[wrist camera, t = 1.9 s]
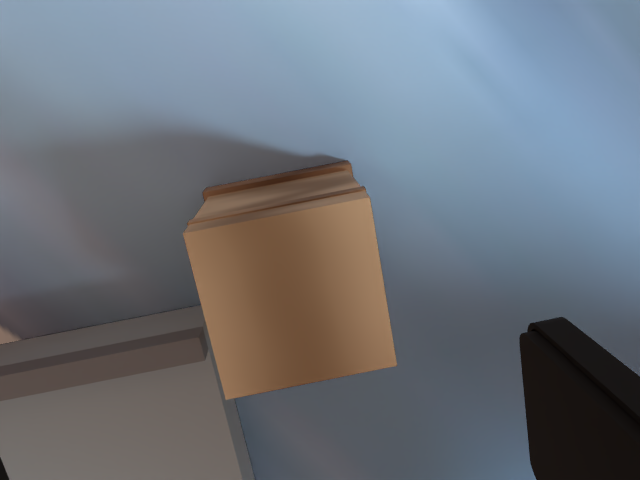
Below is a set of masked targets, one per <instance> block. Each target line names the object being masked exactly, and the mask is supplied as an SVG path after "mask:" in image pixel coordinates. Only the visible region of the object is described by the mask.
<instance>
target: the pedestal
mask: <svg viewBox="0 0 640 480" xmlns="http://www.w3.org/2000/svg"><path fill="white" fill-rule="evenodd" d="M203 197H204V201H205V202H204V204H203V205H202V207H201V208H200V210H199V211H198V212H197V214H196V215H195V217H194V218H193V219H191V220H189V221H188V223H187V225H188V227H187V228H186V230H185V231H184V233H183V236H184V240H185V244H186V248H187V252H188V255H189V259H190V263H191V267H192V271H193V275H194V279H195V283H196V286H197V290H198V294H199V298H200V302H201V306H202V310H203V314H204V317H205V321H206V325H207V329H208V333H209V337H210V341H211V345H212V349H213V352H214V356H215V360H216V364H217V368H218V372H219V376H220V380H221V383H222V387H223V391H224V395H225V399H226V400H228V399H233V398H238V397H243V396H248V395H253V394H258V393H263V392H268V391H273V390H278V389H283V388H288V387H293V386H298V385H303V384H308V383H313V382H318V381H323V380H329V379H334V378H339V377H344V376H349V375H354V374H359V373H364V372H369V371H374V370H379V369H384V368H389V367H394V366H397V362H396V355H395V349H394V343H393V337H392V331H391V325H390V318H389V312H388V306H387V300H386V294H385V287H384V281H383V275H382V269H381V263H380V257H379V250H378V244H377V238H376V232H375V226H374V220H373V213H372V207H371V201H370V197H369V196H368V194H367V193H366V189H365V187H364V186H362V187H361V186H360V185H359V184H358V182H357V181H356V180H355V179H354V178H353V173H352V167H351V163H350V162H349V161H343V162H337V163H332V164H327V165H322V166H317V167H311V168H306V169H301V170H296V171H291V172H286V173H280V174H275V175H270V176H265V177H260V178H254V179H249V180H244V181H239V182H234V183H229V184H223V185H218V186H213V187H208V188H206V189H205V190H204V191H203Z"/></svg>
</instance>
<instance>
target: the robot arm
mask: <svg viewBox="0 0 640 480" xmlns="http://www.w3.org/2000/svg"><path fill="white" fill-rule="evenodd" d="M520 353H521V364H522V375H523V386H524V397H525V408H526V419H527V430H528V441H529V453H530V461H531V466H532V469H533V472H534V475H535V477H536V479H537V480H640V377H639V376H638V375H637V374H636V373H634V372H633V371H632V370H631V369H629V368H628V367H627V366H625V365H624V364H623V363H622V362H620V361H619V360H618V359H617V358H615V357H614V356H613V355H611V354H610V353H609V352H608V351H606V350H605V349H604V348H602V347H601V346H600V345H599V344H597V343H596V342H595V341H594V340H592V339H591V338H590V337H588V336H587V335H586V334H585V333H583V332H582V331H581V330H579V329H578V328H577V327H576V326H574V325H573V324H572V323H571V322H569V321H568V320H567V319H565V318H563V317H559V318H554V319H549V320H544V321H540V322H535V323H530V325H529V326H528V332H527V333H522V334H521V335H520ZM0 480H9V477H8V475H7V472H6V470H5V467H4V465H3V462H2V460H1V457H0Z"/></svg>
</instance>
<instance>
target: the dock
mask: <svg viewBox="0 0 640 480" xmlns="http://www.w3.org/2000/svg"><path fill="white" fill-rule="evenodd" d="M0 457H1V460H2V462H3V465H4V467H5V470H6V472H7V475H8V477H9V480H255V478H254V474H253V470H252V466H251V462H250V458H249V454H248V450H247V446H246V442H245V438H244V434H243V430H242V426H241V422H240V419H239V415H238V411H237V407H236V403H235V399H234V398H233V399H228V400H226V399H225V395H224V391H223V387H222V383H221V380H220V376H219V372H218V368H217V364H216V360H215V356H214V352H213V349H212V345H211V341H210V337H209V333H208V329H207V325H206V321H205V317H204V314H203V310H202V306H201V305H199V306H193V307H188V308H183V309H178V310H173V311H168V312H163V313H158V314H153V315H148V316H143V317H137V318H132V319H127V320H122V321H117V322H112V323H107V324H102V325H97V326H92V327H87V328H81V329H76V330H71V331H66V332H61V333H56V334H51V335H46V336H41V337H36V338H31V339H25V340H20V341H15V342H10V343H5V344H0Z"/></svg>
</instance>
